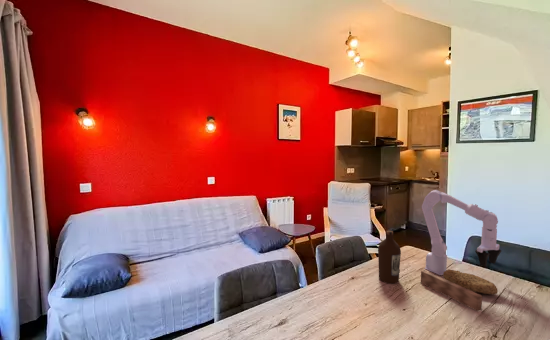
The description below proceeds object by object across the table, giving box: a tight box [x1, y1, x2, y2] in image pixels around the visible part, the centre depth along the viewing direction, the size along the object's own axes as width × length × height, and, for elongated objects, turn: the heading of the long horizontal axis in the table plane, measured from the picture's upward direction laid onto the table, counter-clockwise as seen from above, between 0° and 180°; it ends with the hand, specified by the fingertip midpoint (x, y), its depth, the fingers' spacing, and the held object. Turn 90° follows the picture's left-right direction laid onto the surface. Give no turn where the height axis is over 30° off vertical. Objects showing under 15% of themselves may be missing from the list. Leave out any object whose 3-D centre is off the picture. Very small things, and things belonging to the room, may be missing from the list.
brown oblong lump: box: [442, 269, 499, 295], centre depth 126 cm, size 13×8×20 cm
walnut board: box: [420, 269, 483, 312], centre depth 120 cm, size 26×2×6 cm, turn 23°
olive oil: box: [377, 230, 402, 285], centre depth 135 cm, size 11×11×25 cm
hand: (487, 264), depth 131 cm, fingers open, 7 cm apart
